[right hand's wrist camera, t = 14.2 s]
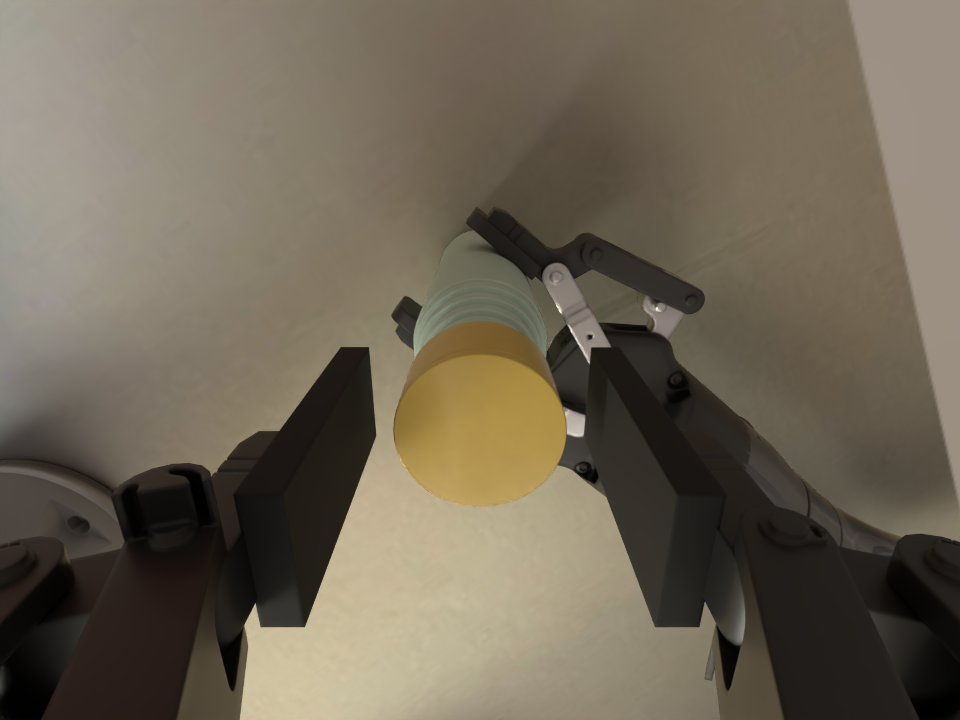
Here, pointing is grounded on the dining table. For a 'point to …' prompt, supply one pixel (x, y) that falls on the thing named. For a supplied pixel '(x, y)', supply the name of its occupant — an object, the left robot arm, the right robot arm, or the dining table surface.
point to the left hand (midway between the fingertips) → (434, 263)
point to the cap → (480, 416)
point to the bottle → (478, 293)
